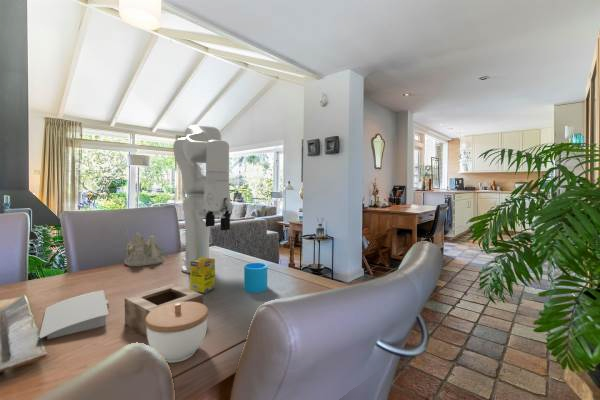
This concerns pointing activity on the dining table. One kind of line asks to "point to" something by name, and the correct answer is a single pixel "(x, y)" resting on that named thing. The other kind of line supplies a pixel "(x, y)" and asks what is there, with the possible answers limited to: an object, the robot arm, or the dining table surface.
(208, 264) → the supplement box
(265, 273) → the mug
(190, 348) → the lidded bowl
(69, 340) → the dining table surface
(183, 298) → the drop box
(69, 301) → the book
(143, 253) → the sand castle
